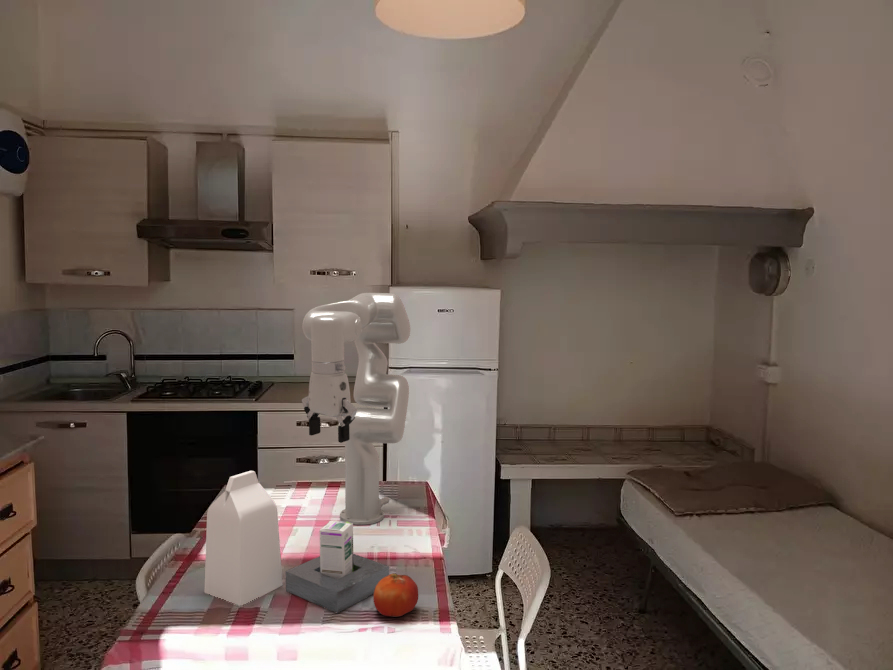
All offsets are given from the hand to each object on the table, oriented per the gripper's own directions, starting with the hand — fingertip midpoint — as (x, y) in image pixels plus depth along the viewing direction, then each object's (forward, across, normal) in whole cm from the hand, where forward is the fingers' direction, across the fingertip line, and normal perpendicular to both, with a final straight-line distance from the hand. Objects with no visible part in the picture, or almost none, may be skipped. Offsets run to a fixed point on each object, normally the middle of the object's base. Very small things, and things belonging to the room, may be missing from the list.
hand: (329, 437), depth 165 cm
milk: (+30, +4, +23) cm, 38 cm away
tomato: (+30, -30, +11) cm, 43 cm away
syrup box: (+30, -13, +11) cm, 34 cm away
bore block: (+30, -13, +11) cm, 34 cm away
